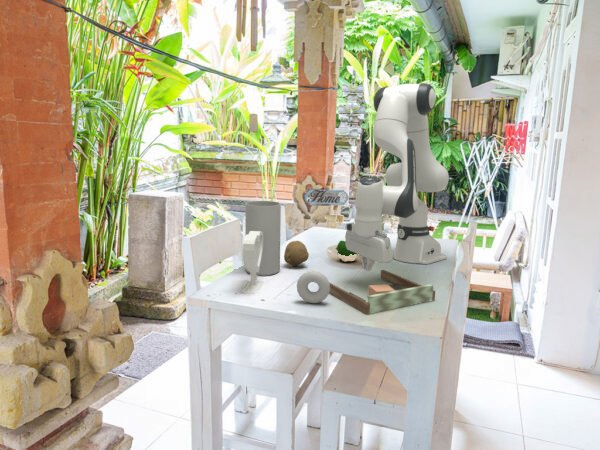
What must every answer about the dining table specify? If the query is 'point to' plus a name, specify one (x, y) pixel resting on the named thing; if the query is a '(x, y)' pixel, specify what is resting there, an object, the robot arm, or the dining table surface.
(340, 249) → the bell pepper
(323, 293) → the donut
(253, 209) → the cylinder vase
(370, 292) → the terracotta block
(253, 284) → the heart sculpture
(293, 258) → the natural sponge
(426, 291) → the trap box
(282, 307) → the dining table surface
